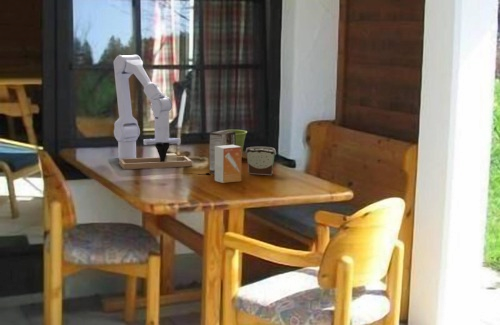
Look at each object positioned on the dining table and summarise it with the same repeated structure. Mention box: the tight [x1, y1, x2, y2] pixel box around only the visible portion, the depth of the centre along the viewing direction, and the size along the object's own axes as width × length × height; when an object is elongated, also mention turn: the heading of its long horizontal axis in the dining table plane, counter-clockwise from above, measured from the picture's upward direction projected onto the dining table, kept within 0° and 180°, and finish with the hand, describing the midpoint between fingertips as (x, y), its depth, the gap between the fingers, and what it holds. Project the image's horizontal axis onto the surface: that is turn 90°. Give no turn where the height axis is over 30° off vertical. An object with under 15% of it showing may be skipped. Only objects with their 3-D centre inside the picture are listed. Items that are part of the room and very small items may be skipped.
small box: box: [214, 145, 243, 184], centre depth 332 cm, size 8×6×13 cm
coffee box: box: [208, 129, 236, 175], centre depth 347 cm, size 9×6×16 cm
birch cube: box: [165, 153, 178, 162], centre depth 358 cm, size 4×4×4 cm
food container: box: [244, 146, 277, 176], centre depth 348 cm, size 12×6×10 cm, turn 71°
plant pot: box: [226, 129, 248, 158], centre depth 382 cm, size 12×12×11 cm
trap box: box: [118, 155, 193, 170], centre depth 357 cm, size 12×27×4 cm, turn 106°
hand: (162, 162), depth 358 cm, fingers closed
